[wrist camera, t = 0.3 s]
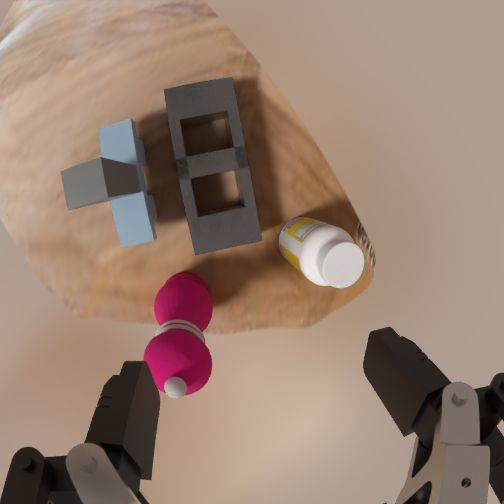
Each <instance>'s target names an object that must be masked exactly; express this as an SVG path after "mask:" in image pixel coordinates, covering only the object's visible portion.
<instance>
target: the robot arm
mask: <svg viewBox="0 0 504 504" xmlns="http://www.w3.org/2000/svg"><path fill="white" fill-rule="evenodd" d="M363 368H364V373H365V375H366V377H367V379H368V381H369V382H370V383H371V385H372V387H373V388H374V390H375V391H376V393H377V395H378V396H379V398H380V399H381V401H382V402H383V404H384V406H385V407H386V409H387V410H388V412H389V413H390V415H391V416H392V418H393V420H394V421H395V423H396V424H397V426H398V428H399V429H400V431H401V433H402V434H403V436H404V437H405V436H407V435H409V434H411V433H413V432H415V433H416V435H417V437H416V439H415V443H414V448H413V454H412V458H411V463H410V467H409V471H408V476H407V479H406V483H405V485H404V487H403V488H402V490H401V492H400V494H399V496H398V498H397V500H396V503H395V504H486V503H487V495H488V486H489V483H490V485H491V487H492V488H493V490H494V492H495V494H496V496H497V498H498V499H499V501H500V503H501V504H504V436H503V435H502V433H501V432H500V430H499V429H498V428H497V425H498V424H499V423H500V421H501V420H503V421H504V373H499V374H497V375H495V376H494V378H493V380H492V382H491V383H490V385H489V386H486V387H482V388H477V389H473V388H472V387H471V386H469V385H468V384H466V383H462V382H455V383H451V382H450V381H449V380H448V378H447V377H446V376H445V375H444V374H443V373H442V372H441V371H440V370H439V369H438V367H437V366H436V365H435V364H434V363H433V362H432V361H431V360H430V359H428V357H427V356H426V354H425V353H424V352H422V350H421V349H420V348H419V347H418V346H417V345H416V344H415V343H414V342H413V341H411V340H409V339H407V338H405V337H403V336H402V337H400V336H399V335H398V334H397V333H396V332H395V331H394V330H393V329H392V328H391V327H386V328H382V329H378V330H374V331H372V332H370V334H369V338H368V343H367V348H366V352H365V357H364V362H363ZM100 396H101V398H100V399H99V401H98V404H97V407H96V410H95V412H94V415H93V418H92V421H91V424H90V427H89V430H88V434H87V437H86V440H85V442H84V443H82V444H79V445H77V446H75V447H73V448H72V449H71V450H70V451H69V453H68V455H67V456H56V457H44V456H43V455H42V454H41V453H40V452H39V451H38V450H37V449H35V448H32V447H24V448H21V449H20V450H18V451H17V452H16V453H15V455H14V456H13V459H12V462H11V465H10V468H9V471H8V474H7V478H6V481H5V485H4V488H3V492H2V496H1V500H0V504H151V503H150V502H149V500H148V499H147V498H146V497H145V495H144V494H143V493H142V491H141V490H140V489H139V487H140V479H145V480H151V477H152V466H153V457H154V448H155V439H156V431H157V424H158V417H159V410H160V396H159V391H158V389H157V386H156V384H155V381H154V378H153V376H152V373H151V371H150V368H149V365H148V363H147V362H146V361H125V362H124V364H123V367H122V369H121V372H120V375H113V376H112V377H111V378H110V379H109V380H108V382H106V384H105V385H104V388H103V390H102V393H101V395H100ZM48 501H49V502H48ZM384 504H387V503H384Z"/></svg>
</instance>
